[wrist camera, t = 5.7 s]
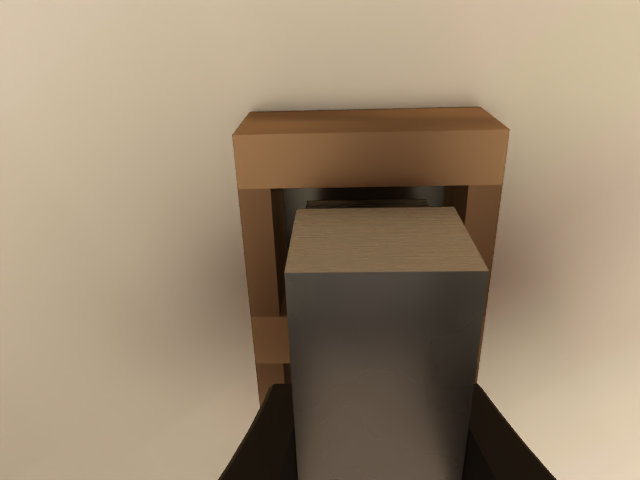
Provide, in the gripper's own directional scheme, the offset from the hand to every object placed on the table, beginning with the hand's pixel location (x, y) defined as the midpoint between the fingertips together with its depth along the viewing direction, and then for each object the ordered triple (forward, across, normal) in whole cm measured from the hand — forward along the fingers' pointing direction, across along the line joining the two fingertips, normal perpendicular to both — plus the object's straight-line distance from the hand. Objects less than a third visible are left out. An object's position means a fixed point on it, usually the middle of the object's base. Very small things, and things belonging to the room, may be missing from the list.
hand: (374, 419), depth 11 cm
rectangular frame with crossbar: (+5, 0, 0) cm, 5 cm away
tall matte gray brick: (+4, 0, 0) cm, 4 cm away
